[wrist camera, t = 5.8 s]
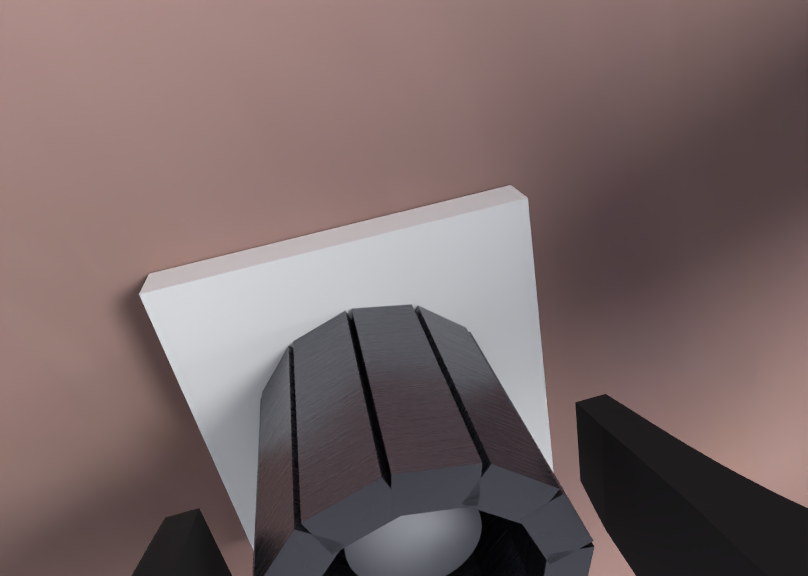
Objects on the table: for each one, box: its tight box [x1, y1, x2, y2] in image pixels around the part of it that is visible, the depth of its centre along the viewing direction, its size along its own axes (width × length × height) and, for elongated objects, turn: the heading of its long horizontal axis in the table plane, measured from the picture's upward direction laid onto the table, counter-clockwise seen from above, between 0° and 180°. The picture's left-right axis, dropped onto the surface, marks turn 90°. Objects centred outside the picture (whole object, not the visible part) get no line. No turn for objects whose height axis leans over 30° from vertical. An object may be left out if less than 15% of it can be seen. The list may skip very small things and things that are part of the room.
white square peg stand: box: [139, 185, 553, 576], centre depth 12 cm, size 8×8×5 cm
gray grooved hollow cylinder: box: [253, 304, 594, 576], centre depth 12 cm, size 5×5×5 cm
